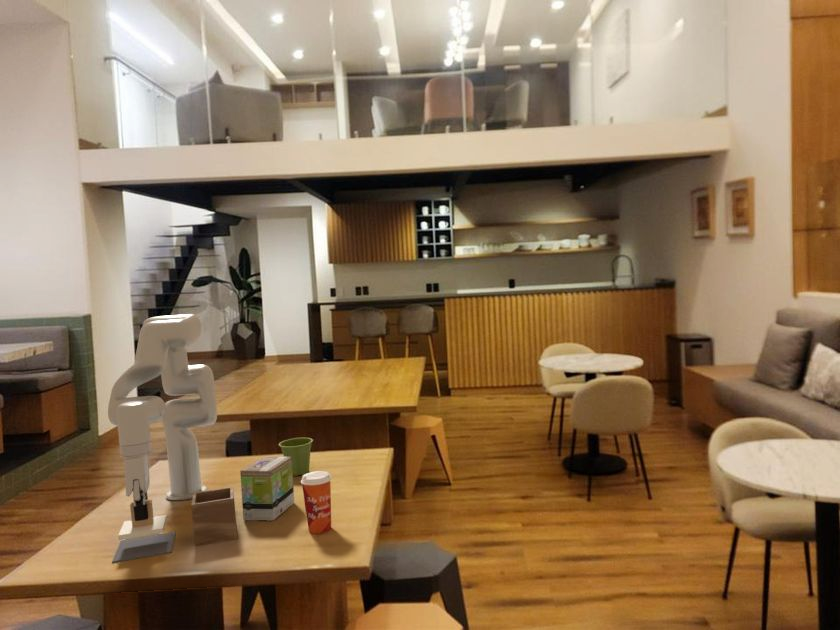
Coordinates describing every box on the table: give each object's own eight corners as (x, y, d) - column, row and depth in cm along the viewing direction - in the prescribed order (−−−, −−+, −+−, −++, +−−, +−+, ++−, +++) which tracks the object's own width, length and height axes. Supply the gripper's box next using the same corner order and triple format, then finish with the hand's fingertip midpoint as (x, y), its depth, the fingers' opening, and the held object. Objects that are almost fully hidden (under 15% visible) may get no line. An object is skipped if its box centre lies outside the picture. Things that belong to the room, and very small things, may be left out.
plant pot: (288, 468, 236) (285, 438, 236) (319, 467, 235) (317, 437, 234) (276, 479, 225) (273, 446, 224) (309, 478, 223) (306, 445, 222)
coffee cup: (310, 538, 171) (305, 482, 170) (300, 528, 178) (296, 474, 177) (340, 530, 174) (335, 475, 174) (329, 521, 182) (325, 468, 181)
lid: (125, 529, 175) (122, 499, 175) (167, 522, 178) (164, 493, 178) (119, 543, 165) (115, 512, 165) (163, 536, 168) (160, 505, 168)
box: (196, 531, 181) (193, 492, 180) (236, 524, 184) (233, 486, 183) (195, 546, 171) (191, 504, 170) (237, 538, 174) (233, 498, 173)
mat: (120, 542, 177) (120, 540, 177) (175, 533, 181) (175, 531, 181) (112, 563, 163) (112, 561, 163) (171, 552, 167) (171, 551, 167)
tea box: (275, 521, 185) (270, 470, 184) (242, 521, 187) (238, 470, 186) (295, 502, 199) (291, 455, 198) (265, 502, 201) (261, 455, 200)
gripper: (125, 444, 177) (131, 510, 178) (115, 458, 162) (122, 531, 163) (154, 440, 179) (160, 506, 180) (147, 454, 164) (154, 526, 165)
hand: (142, 517), depth 172 cm, fingers closed on lid
